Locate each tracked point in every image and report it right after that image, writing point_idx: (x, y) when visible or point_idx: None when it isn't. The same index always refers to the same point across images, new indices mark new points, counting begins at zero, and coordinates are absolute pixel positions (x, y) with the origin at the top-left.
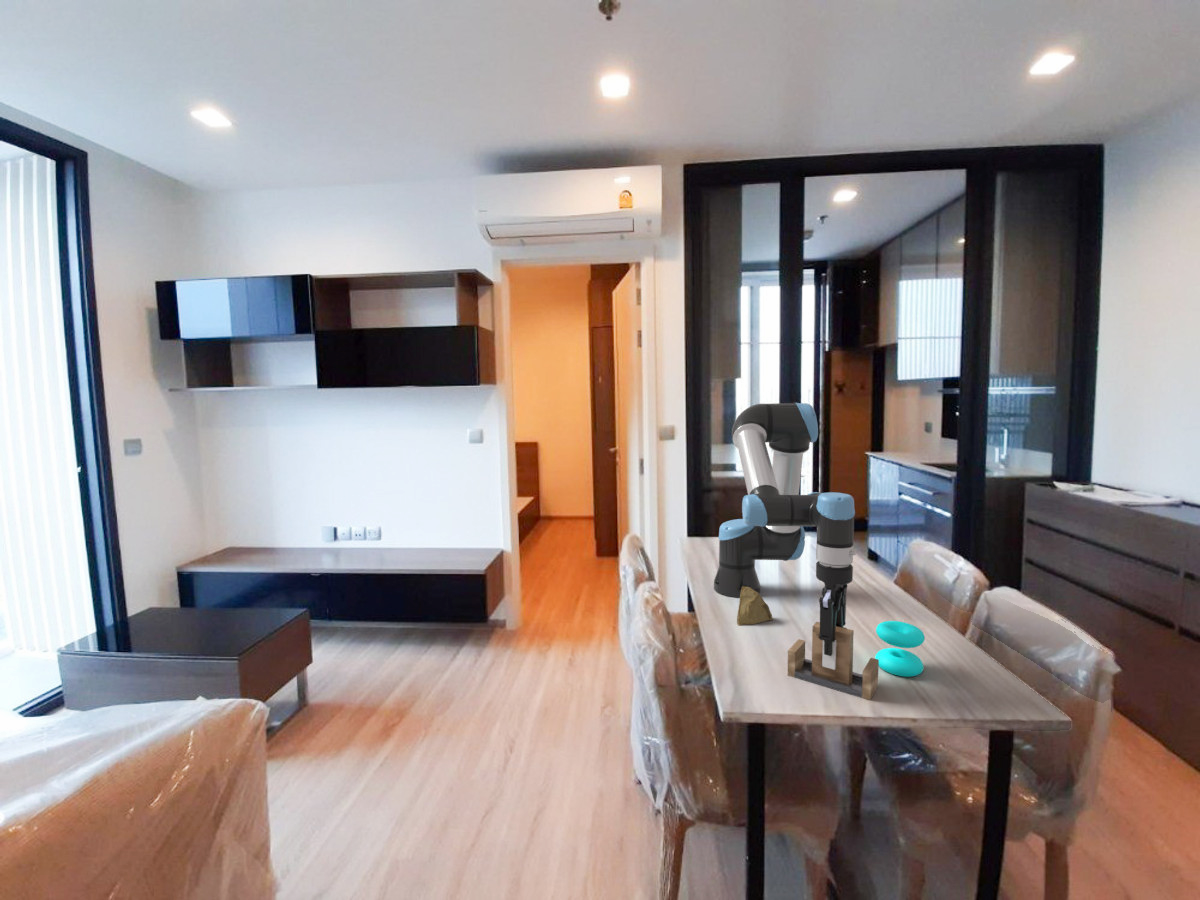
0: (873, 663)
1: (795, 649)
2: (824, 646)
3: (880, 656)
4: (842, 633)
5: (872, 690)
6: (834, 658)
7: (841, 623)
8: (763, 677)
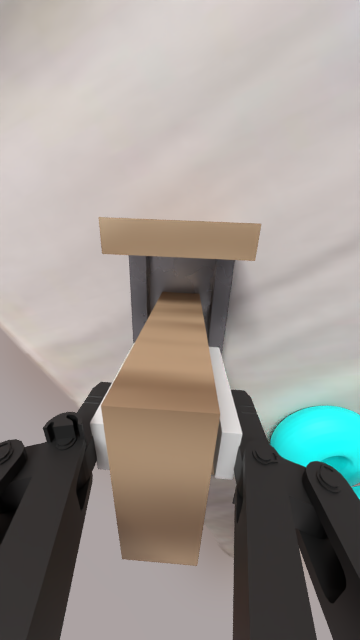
0: None
1: (133, 247)
2: (79, 410)
3: (314, 434)
4: (121, 535)
5: None
6: None
7: (235, 551)
8: (69, 155)
